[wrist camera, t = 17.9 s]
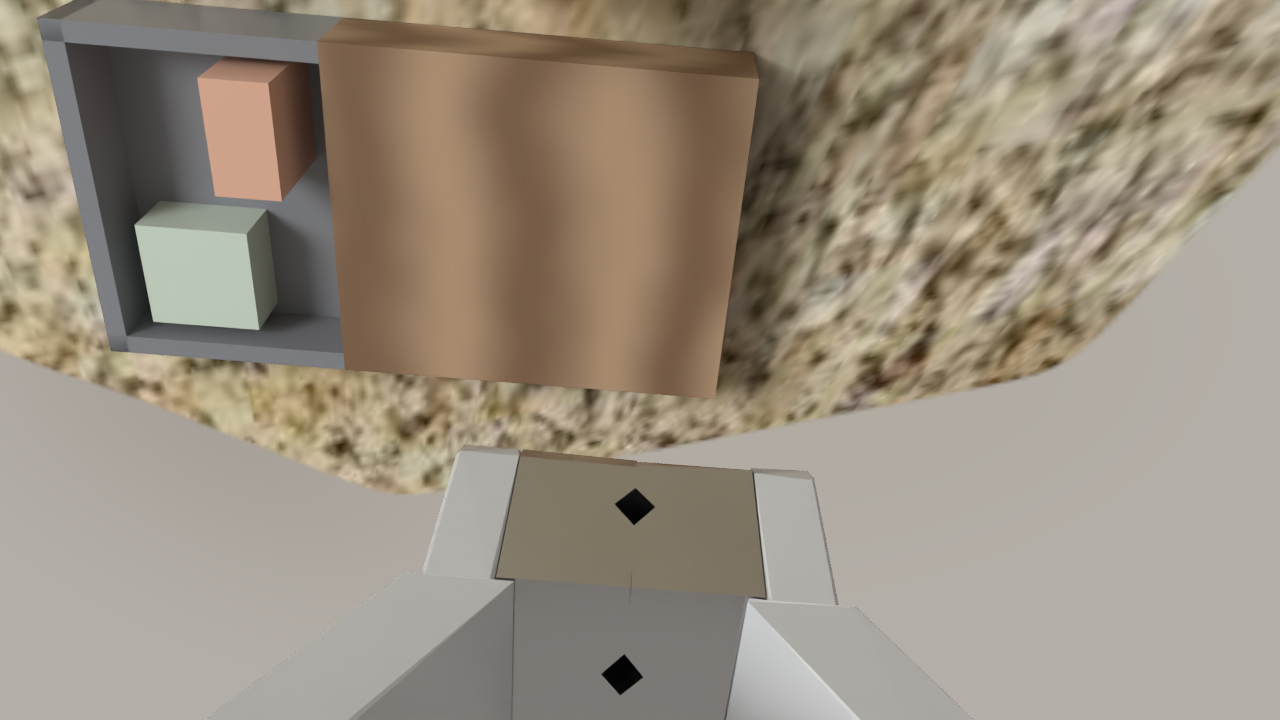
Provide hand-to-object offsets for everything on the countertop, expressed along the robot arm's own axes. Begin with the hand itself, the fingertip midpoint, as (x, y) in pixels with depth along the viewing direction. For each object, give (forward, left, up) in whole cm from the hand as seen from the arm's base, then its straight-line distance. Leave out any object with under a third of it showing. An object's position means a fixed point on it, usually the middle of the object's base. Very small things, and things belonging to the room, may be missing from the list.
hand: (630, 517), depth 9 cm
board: (+4, +12, -34) cm, 36 cm away
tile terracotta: (+13, +8, -31) cm, 35 cm away
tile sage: (+18, +15, -31) cm, 39 cm away
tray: (+17, +12, -34) cm, 40 cm away
